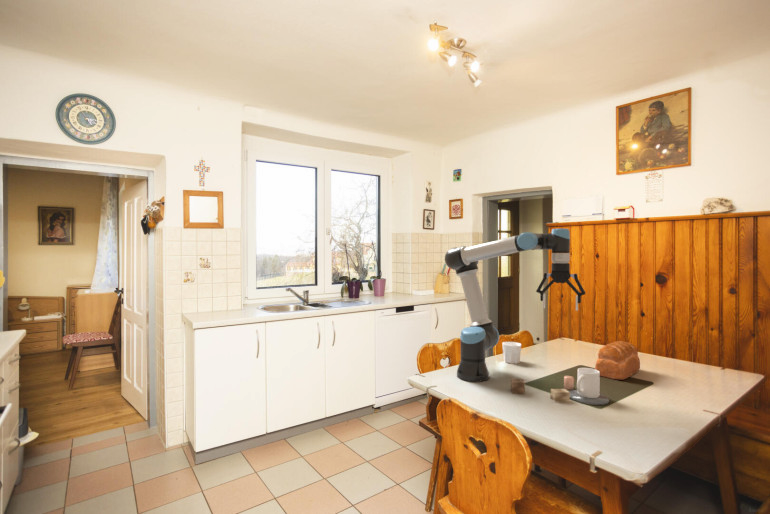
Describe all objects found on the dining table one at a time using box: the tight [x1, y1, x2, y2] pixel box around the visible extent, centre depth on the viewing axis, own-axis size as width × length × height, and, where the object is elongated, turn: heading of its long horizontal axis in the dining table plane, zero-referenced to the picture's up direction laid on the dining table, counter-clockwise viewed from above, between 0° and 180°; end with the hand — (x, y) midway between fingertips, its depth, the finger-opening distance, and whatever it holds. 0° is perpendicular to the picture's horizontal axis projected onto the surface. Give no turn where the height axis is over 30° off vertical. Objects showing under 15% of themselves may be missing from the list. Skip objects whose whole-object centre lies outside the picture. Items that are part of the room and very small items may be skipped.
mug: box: [576, 367, 601, 398], centre depth 162 cm, size 12×8×10 cm
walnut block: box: [510, 378, 526, 395], centre depth 169 cm, size 5×5×5 cm
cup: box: [501, 341, 522, 365], centre depth 215 cm, size 10×10×10 cm
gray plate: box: [569, 389, 610, 406], centre depth 162 cm, size 15×15×1 cm
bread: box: [594, 340, 641, 381], centre depth 196 cm, size 14×26×16 cm, turn 131°
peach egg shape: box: [563, 375, 575, 391], centre depth 174 cm, size 4×4×5 cm
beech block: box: [550, 388, 571, 403], centre depth 160 cm, size 6×4×4 cm, turn 91°
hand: (560, 309), depth 177 cm, fingers open, 13 cm apart
